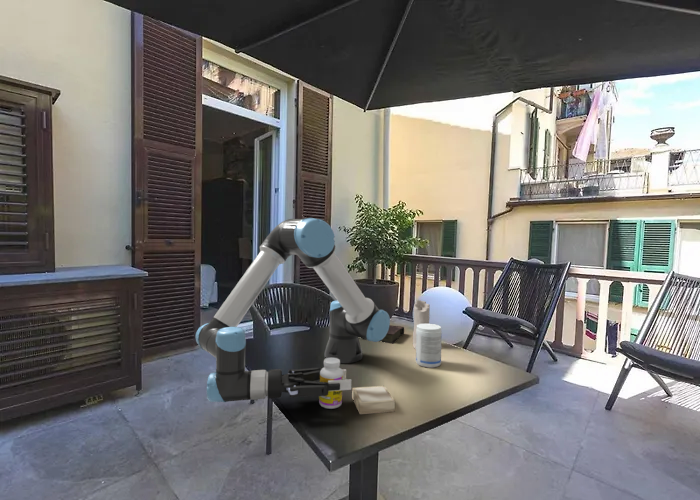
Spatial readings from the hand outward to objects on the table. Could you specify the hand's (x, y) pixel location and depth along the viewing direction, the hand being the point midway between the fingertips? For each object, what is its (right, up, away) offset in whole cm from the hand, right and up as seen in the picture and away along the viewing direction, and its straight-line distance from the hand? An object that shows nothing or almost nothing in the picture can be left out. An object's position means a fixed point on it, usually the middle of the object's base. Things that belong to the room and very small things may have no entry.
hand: (348, 379), depth 102 cm
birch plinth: (+7, -7, 0) cm, 10 cm away
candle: (+32, -6, +54) cm, 63 cm away
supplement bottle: (-5, -7, -1) cm, 9 cm away
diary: (+12, -5, +70) cm, 72 cm away
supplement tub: (+31, -7, +33) cm, 46 cm away
